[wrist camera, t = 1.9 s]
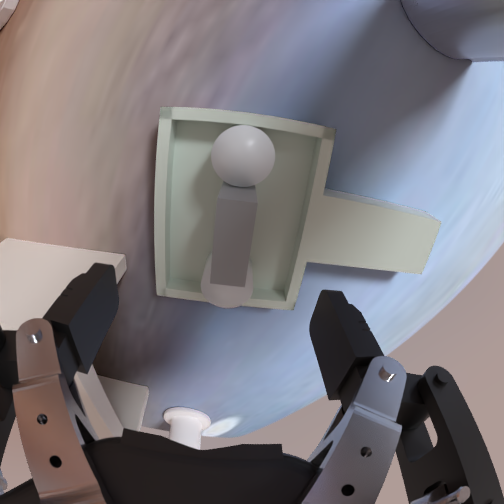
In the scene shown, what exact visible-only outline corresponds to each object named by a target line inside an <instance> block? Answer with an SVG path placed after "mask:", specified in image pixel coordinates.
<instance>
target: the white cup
mask: <svg viewBox="0 0 504 504" xmlns="http://www.w3.org/2000/svg"><path fill="white" fill-rule="evenodd" d="M18 2H19V0H0V30H1V28H2V27H3V26H4V25H5V24H6V23H7V21H8V20H9V18H10V17H11V15H12V14H13V12H14V11H15V9H16V6H17V4H18Z"/></svg>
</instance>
